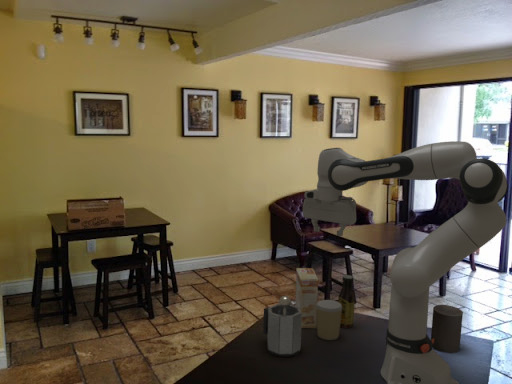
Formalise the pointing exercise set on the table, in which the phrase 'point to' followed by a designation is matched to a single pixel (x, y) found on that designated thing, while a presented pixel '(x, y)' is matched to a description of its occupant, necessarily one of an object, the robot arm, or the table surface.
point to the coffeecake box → (307, 296)
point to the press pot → (283, 330)
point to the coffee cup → (328, 319)
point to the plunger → (284, 303)
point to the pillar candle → (446, 328)
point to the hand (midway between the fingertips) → (328, 233)
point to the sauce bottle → (347, 302)
